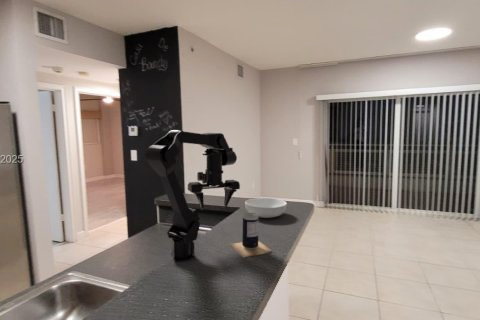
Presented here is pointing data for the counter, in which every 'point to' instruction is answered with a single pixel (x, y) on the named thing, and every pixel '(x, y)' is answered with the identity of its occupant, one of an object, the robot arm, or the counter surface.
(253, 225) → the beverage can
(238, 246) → the coaster
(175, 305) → the counter surface
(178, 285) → the counter surface
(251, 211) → the serving bowl
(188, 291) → the counter surface
